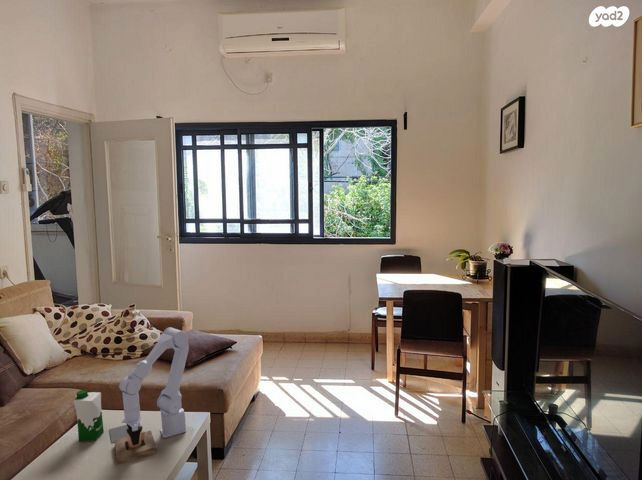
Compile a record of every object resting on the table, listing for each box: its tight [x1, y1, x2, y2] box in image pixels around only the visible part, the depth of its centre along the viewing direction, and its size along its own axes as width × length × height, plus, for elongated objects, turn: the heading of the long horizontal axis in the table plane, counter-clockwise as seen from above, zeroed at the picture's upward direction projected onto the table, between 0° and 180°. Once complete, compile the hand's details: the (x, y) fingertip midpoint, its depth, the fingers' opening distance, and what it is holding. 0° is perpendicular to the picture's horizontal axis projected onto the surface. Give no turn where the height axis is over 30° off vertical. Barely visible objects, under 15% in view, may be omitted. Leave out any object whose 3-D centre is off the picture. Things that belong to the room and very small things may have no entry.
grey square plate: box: [109, 422, 141, 444], centre depth 193 cm, size 12×12×1 cm
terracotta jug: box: [127, 430, 146, 450], centre depth 179 cm, size 6×5×8 cm
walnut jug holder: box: [114, 430, 158, 465], centre depth 180 cm, size 14×14×2 cm
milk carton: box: [73, 389, 104, 442], centre depth 189 cm, size 9×9×20 cm
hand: (134, 439), depth 179 cm, fingers open, 7 cm apart
